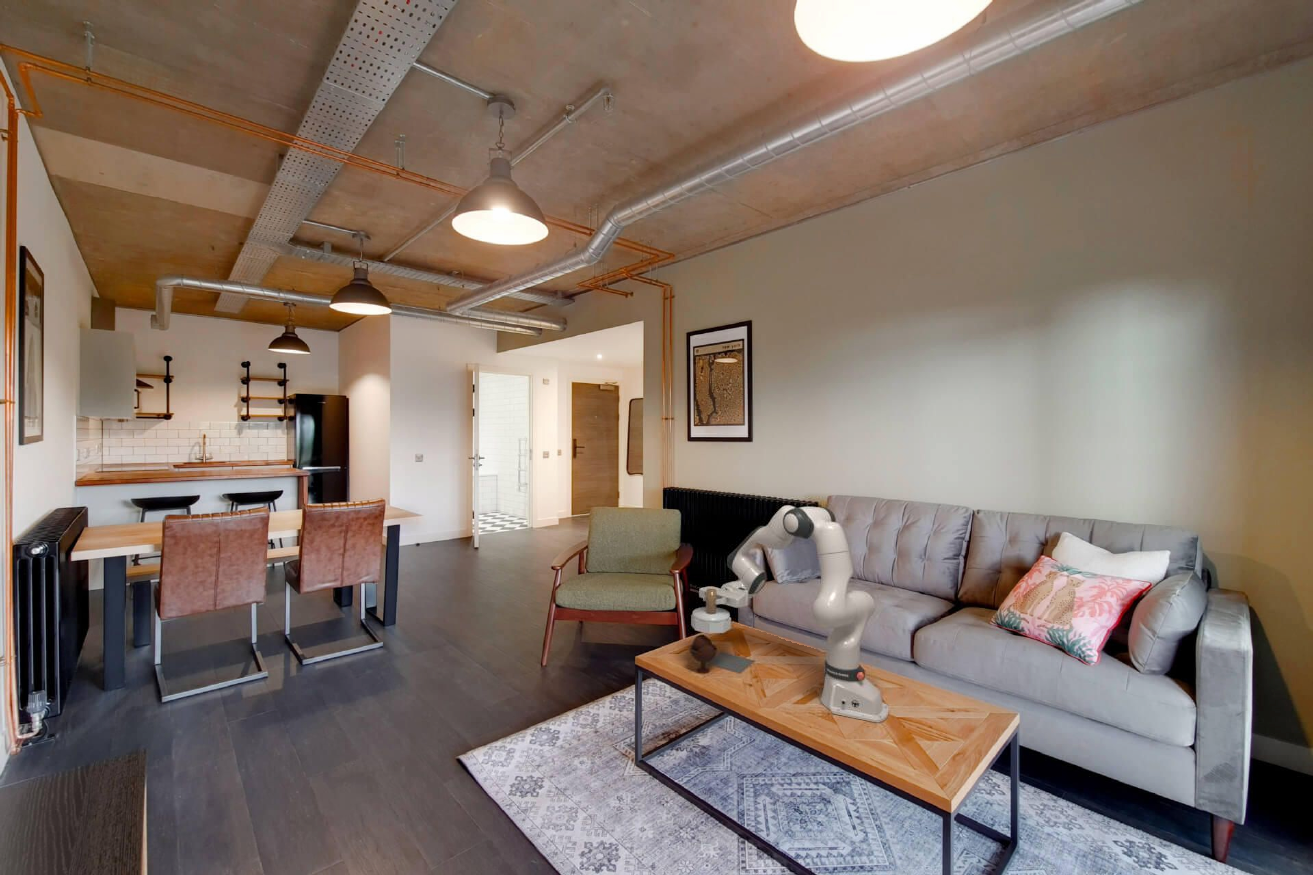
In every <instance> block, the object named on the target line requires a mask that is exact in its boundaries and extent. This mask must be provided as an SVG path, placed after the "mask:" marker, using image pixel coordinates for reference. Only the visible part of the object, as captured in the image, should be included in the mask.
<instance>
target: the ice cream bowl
mask: <svg viewBox="0 0 1313 875" xmlns="http://www.w3.org/2000/svg"><path fill="white" fill-rule="evenodd" d="M689 653H690V655H691V657H692V658H693V659H694V660H695V661H697V662H699V663H700V667H699V668H697V669H696V671H695V672H697V673H698V674H700V675H706V674H709V673H710V672H711V671H710V670H709V669H708V668H706V665H707V664H706V662H709V661H711V660H712V659H713V658H714V657H715V656H716V655H717V654H718V648H717V647H716V645H714V644H713V643H712V640H711V639H710V638H709V637H708V636H706V635H705V634H699V635H696V636H695V637H694V640H693V641H692V644H691V645H690V646H689Z"/></svg>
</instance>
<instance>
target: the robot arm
mask: <svg viewBox="0 0 1313 875" xmlns="http://www.w3.org/2000/svg"><path fill="white" fill-rule="evenodd" d="M795 537H796V538H801V539H804V540H808V539H809V538H811V539H812V540H813V542H814V543H815V546H816V550H817V552H816V553H817V558H818V564H819V572H820V586H819V587H820V588H819V592H818V594H817V598H816V599H815V601H813V604H812V608H811V611H812V612H811V613H812V617H813V619H814V621H815V622H816V623H817V624H818V625H819V626H821V627H822V628H827V629H829V628H831V629H833V630H832V631H831V633H830V634H829V635H828V637H827V639H826V652H825V653H826V654H825V656H826V658H825V660H824V670H823V672H824V673H823V674H824V684H823V689H822V693H821V696H820V699H819V700H820V703H821V704H822V705H823V706H824V707H826V708H827V709H828V710H829V712H830V713H831V714H834V715H839V716H843V717H848V718H853V719H858V720H862V721H867V722H872V723H878V724H879V723H881V722H883V721H885V720H886V719H887V718H888V716H889V715H890V708H889V706H888V704H887V703H885V702H883V698H882V694H881V691H880V690H879V689H878V688H877V687H876V686H875V685H874V684H873V683H872V682H871V681H869V679H868V678H866V667H862V665H860V658H861V656H860V653H861V642H862V637H863V635H864V632H865V630H866V627H867V624H868V622H869V620H870V619H871V617H872V616H873V615H874V613H875V611H876V605H875V600H874V599H873V597H872V596H871V594H870V593H868V592H867V591H865V590H858V589H857V590H856V589H855V590H854V589H853V590H848V586H849V582H850V581H851V579H852V576H853V574H854V568H853V564H852V558H851V553H850V549H849V548H850V547H849V544H848V539H847V537H846V534H845V531H844V529H843V527H842V525H841V524H840V523H838V522H837V521H836V516H835V514H834V512H833V511H832V510H831V509H830V508H828V507H824V506H817V507H816V506H802V507H801V506H800V507H795V506H793V505H788V504H787V505H784V506H782V507H781V508H779V509H778V510H777V512H776V513H774V515H773V516H772V517H771V519H770V521H769V522H768V524H767V525H765V526H764V525H759V526H758V527H756V528H755V529H754V530H753V531H751V532H750V533H749V534H748V536H746V537H745V539H744V540H743V541H742V542H741V543H740V544H739V545H738V546H737V547H736V548H735V549H734V550H733V551H732V552H731V553H729V554H728V555H727V561H726V562H727V563H726V566H727V567H728V568H729V569H730V570H731V571H732V572H733V573H734V574H735V575H736V576H737V577H738V578H739V579H737V580H735V581H730V582H726V583H724V584H722V586H721V587H720V588H719V587H716V586H705V587H701V588H699V591H698V596H699V598H701V599H703V602H706V590H707V589H715V590H717V596H716V599H714V604H716V606H717V605H726V606H729V607H733V608H736V609H740V608H743V607H744V608H745V607H748V605H749V599H750V600H751V599H752V598H754V597H755V596H756V595H757V594H758V593H759V592H760V591H761V590H762V589H763V588H764V586H766V585H765V584H766V582H767V573H766V571H765V570H764V569H763V568H762V567H761V566H760V564H758V562H756V560H755V559H753V557H751V554H750V551H751V550H752V549H753V548H754V547H755V546H756V545H757V544H760V545H762V546H764V547H766V548H768V549H770V550H776V551H778V550H779V551H780V550H784V549H785V548H787V547H788V546H789V545H790V544H791V542H792V541H793V540H794V538H795Z"/></svg>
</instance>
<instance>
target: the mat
mask: <svg viewBox="0 0 1313 875" xmlns="http://www.w3.org/2000/svg"><path fill="white" fill-rule="evenodd" d="M755 662H756V660H755V659H750V658H746V657H742V656H739V655H735V654H733V653H728V652H723V651H720V652H719V653H716V655H715V657H714V658H713V659H712V660H711V661H709V662H706V664H705V665H708V666H711V667H715V668H719V669H722V670H726V671H729V672H732V673H733V672H734V673H737V674H742V673H743V672H745V670H746V669H748V668H749V667H750V666H751V665H753V664H755Z"/></svg>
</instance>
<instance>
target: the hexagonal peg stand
mask: <svg viewBox="0 0 1313 875" xmlns="http://www.w3.org/2000/svg"><path fill="white" fill-rule="evenodd" d="M716 596H717V590H715V589H707V590H706V601H705V606H702V607H698V608H695V609H694V610H692V614H691V615H690V616H691V617H690V618H691V619H690V620H691V622H690V623H691V624H690V625H691V627H692V629H694V631H697V632H701V633H704V634H710V635H711V634H724V633H726V632H727V631H729V630H730V629H732V627H731V626H732V618H731V617H730V616H731V615H730V614H731V613H730V612H729V611H728V610H726V609H724V608H720V607H717V604H714V599H716Z"/></svg>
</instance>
